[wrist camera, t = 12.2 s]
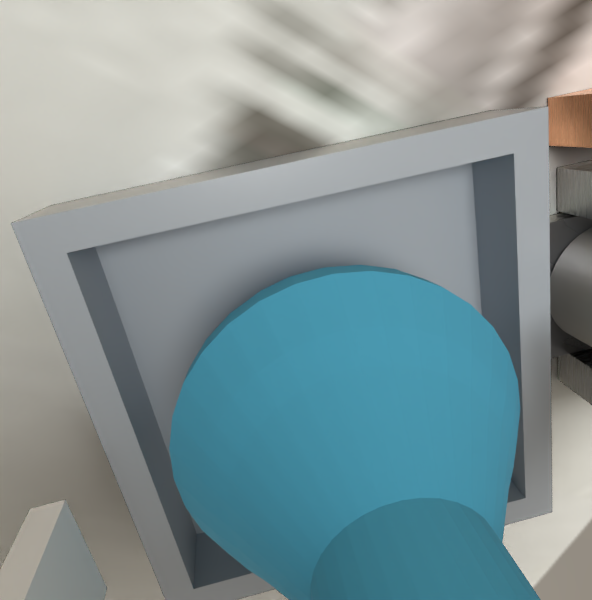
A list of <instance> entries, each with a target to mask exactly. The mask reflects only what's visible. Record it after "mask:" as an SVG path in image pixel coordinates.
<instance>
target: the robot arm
mask: <svg viewBox="0 0 592 600" xmlns="http://www.w3.org/2000/svg"><path fill="white" fill-rule="evenodd" d="M106 590H107V587H106V585H105V583H104V581H103V578H102V576H101V574H100V572H99V570H98V568H97V566H96V564H95V561H94V559H93V557H92V555H91V553H90V551H89V549H88V547H87V544H86V542H85V540H84V538H83V536H82V534H81V532H80V529H79V527H78V525H77V523H76V521H75V519H74V517H73V515H72V512H71V510H70V508H69V506H68V504H67V502H66V500H62V501H58V502H54V503H50V504H46V505H42V506H39V507H35V508H31V509H30V510H29V512H28V514H27V516H26V518H25V520H24V522H23V524H22V526H21V528H20V530H19V532H18V534H17V536H16V538H15V540H14V542H13V544H12V546H11V549H10V551H9V553H8V555H7V557H6V559H5V561H4V563H3V565H2V567H1V569H0V600H104V598H105V594H106Z"/></svg>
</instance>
